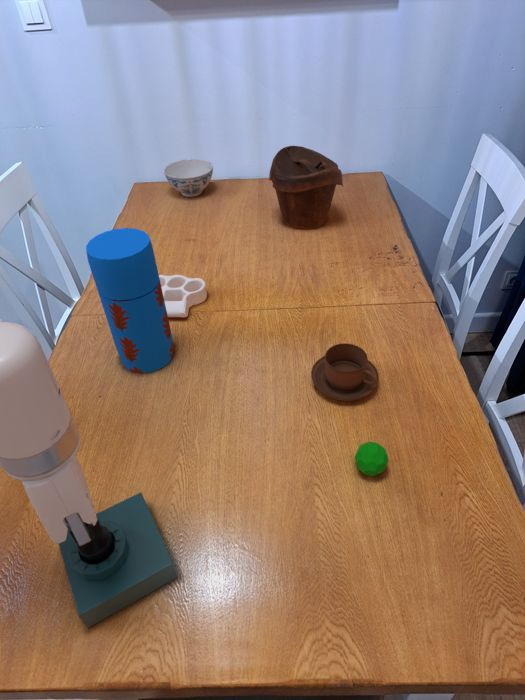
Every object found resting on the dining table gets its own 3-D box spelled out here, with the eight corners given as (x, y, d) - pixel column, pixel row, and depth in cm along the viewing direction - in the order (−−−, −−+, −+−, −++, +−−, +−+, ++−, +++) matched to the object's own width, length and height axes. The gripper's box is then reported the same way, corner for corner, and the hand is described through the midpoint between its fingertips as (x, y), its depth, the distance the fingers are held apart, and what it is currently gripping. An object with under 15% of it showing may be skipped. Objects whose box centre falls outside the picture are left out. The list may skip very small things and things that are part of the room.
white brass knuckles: (119, 321, 106) (135, 283, 117) (201, 321, 105) (210, 282, 116) (115, 309, 104) (132, 271, 115) (199, 308, 103) (208, 270, 114)
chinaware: (207, 204, 148) (203, 179, 143) (160, 201, 151) (156, 176, 146) (221, 183, 159) (219, 160, 154) (178, 181, 162) (174, 158, 157)
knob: (86, 569, 60) (81, 562, 58) (78, 542, 62) (73, 535, 61) (118, 553, 61) (114, 545, 60) (108, 527, 64) (104, 519, 62)
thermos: (111, 369, 95) (72, 256, 78) (134, 334, 102) (103, 225, 86) (163, 377, 92) (134, 263, 76) (183, 340, 100) (161, 230, 84)
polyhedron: (392, 468, 75) (397, 449, 72) (373, 487, 73) (376, 469, 70) (366, 449, 78) (369, 430, 75) (346, 467, 76) (349, 448, 72)
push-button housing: (88, 628, 60) (73, 609, 56) (65, 547, 68) (50, 525, 64) (178, 577, 64) (170, 555, 60) (146, 506, 72) (138, 483, 68)
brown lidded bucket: (334, 238, 129) (338, 171, 117) (262, 230, 134) (258, 165, 122) (346, 209, 141) (351, 145, 129) (280, 202, 146) (279, 140, 135)
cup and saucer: (382, 366, 92) (386, 342, 88) (370, 413, 84) (374, 388, 79) (320, 354, 95) (321, 329, 91) (303, 397, 87) (303, 372, 83)
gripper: (-15, 404, 51) (43, 500, 63) (8, 518, 41) (72, 605, 53) (58, 377, 53) (100, 474, 66) (96, 478, 44) (138, 569, 56)
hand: (88, 532), depth 59 cm, fingers closed
